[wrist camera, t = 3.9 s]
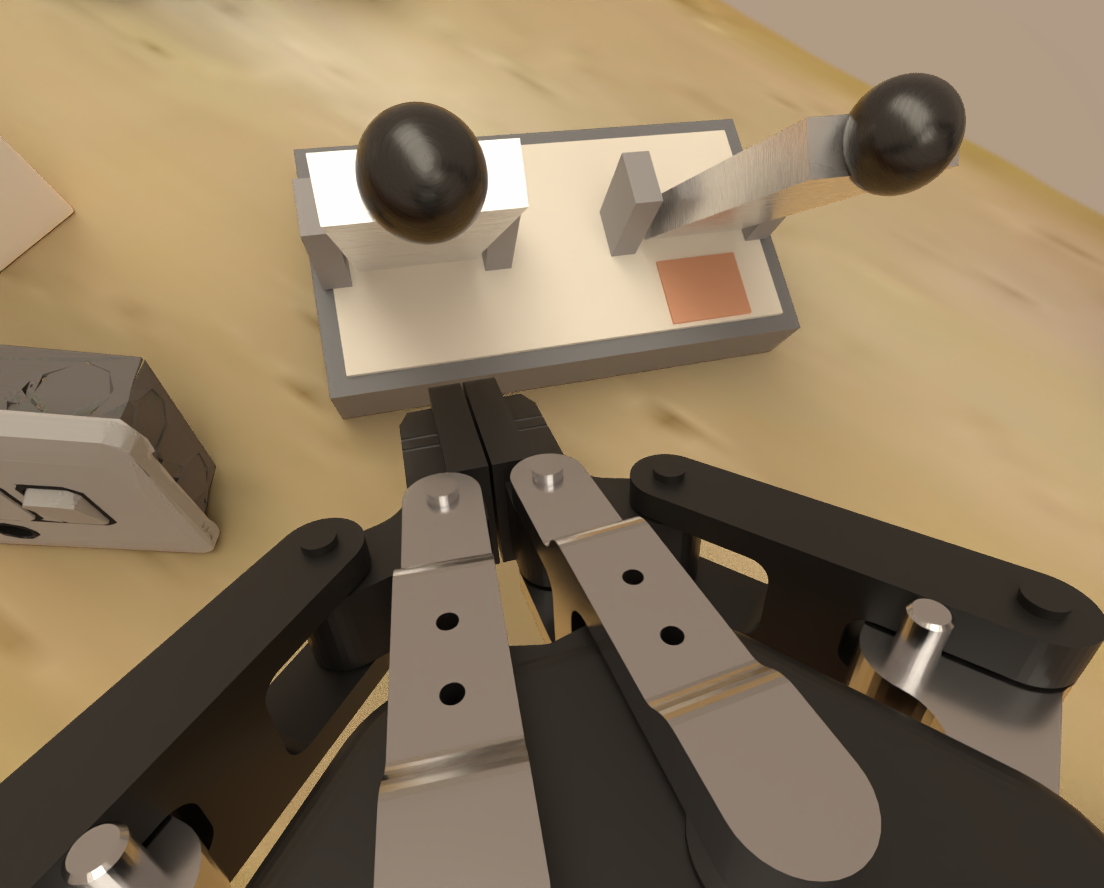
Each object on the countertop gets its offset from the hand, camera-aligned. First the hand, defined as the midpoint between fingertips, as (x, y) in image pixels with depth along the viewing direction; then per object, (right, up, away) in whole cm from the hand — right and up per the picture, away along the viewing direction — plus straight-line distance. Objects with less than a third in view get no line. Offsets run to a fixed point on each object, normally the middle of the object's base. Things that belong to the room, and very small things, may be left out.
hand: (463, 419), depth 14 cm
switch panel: (+2, +8, +17) cm, 19 cm away
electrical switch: (-17, -2, +12) cm, 21 cm away
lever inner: (+9, +10, +15) cm, 20 cm away
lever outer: (-4, +8, +12) cm, 15 cm away
